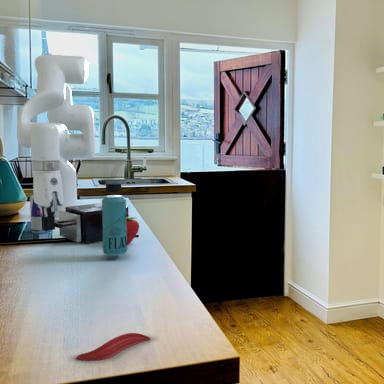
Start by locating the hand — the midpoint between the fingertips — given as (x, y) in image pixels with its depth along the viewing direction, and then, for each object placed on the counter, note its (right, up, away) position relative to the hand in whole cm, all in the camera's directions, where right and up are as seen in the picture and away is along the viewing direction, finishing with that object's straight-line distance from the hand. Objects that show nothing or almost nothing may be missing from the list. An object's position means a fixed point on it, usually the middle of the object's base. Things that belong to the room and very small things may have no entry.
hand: (48, 229), depth 139 cm
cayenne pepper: (+36, -14, -64) cm, 75 cm away
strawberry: (+22, -5, +2) cm, 23 cm away
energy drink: (-10, -2, +18) cm, 20 cm away
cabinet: (+11, -3, +12) cm, 16 cm away
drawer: (+7, -3, +8) cm, 11 cm away
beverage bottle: (+22, -7, -12) cm, 26 cm away
